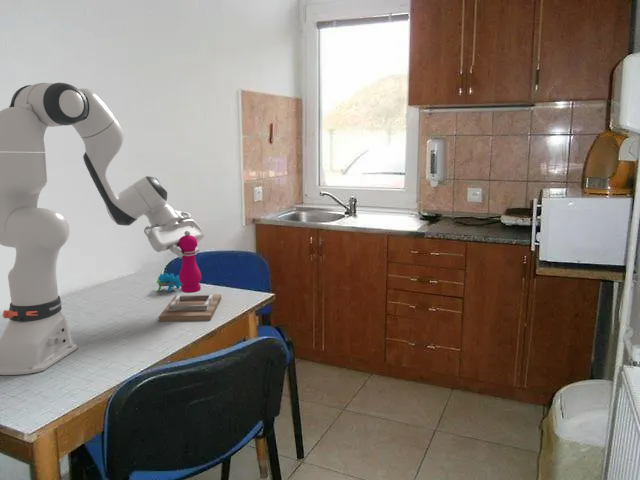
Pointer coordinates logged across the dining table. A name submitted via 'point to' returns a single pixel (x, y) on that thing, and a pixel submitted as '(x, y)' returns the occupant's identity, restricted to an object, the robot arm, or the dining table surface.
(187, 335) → the dining table surface
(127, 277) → the dining table surface
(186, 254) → the pepper mill
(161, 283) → the toy dinosaur
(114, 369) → the dining table surface
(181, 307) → the walnut board
